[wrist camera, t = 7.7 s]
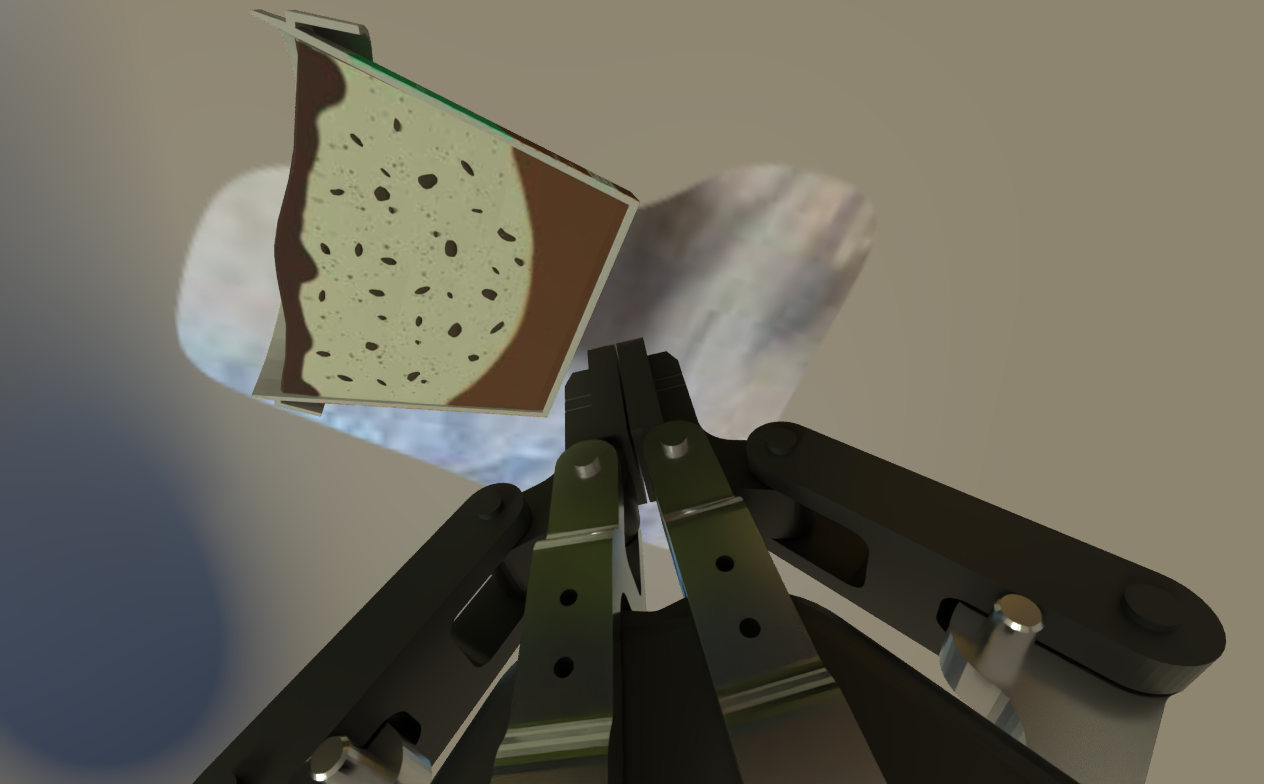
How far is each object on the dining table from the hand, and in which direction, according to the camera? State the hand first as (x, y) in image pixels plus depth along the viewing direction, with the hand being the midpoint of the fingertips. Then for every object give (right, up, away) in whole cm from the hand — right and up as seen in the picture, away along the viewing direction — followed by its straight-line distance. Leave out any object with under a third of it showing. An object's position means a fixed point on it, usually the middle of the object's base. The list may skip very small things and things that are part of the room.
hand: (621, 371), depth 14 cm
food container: (-2, +4, +7) cm, 8 cm away
